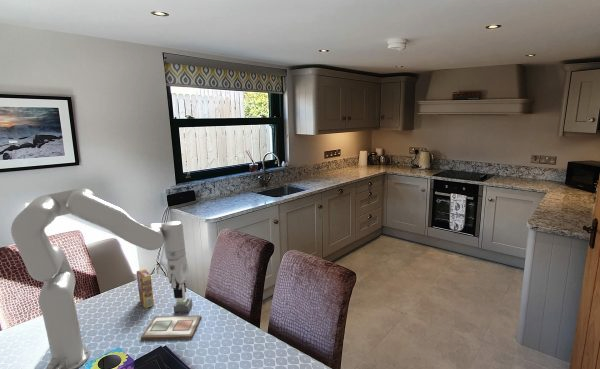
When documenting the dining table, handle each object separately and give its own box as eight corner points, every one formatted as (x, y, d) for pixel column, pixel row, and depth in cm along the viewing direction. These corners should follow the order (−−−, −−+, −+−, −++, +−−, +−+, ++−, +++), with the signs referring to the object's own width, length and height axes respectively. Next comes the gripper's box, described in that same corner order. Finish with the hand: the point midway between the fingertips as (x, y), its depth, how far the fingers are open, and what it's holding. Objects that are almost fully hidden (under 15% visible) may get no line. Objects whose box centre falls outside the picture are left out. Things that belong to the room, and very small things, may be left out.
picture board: (191, 338, 137) (191, 335, 136) (140, 340, 137) (140, 336, 136) (201, 317, 150) (201, 314, 150) (155, 318, 150) (154, 316, 150)
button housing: (188, 313, 154) (187, 305, 154) (174, 313, 154) (173, 306, 154) (192, 305, 160) (191, 298, 160) (178, 305, 160) (178, 298, 160)
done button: (186, 306, 155) (185, 301, 154) (177, 306, 155) (176, 301, 154) (188, 301, 159) (188, 296, 158) (180, 301, 159) (179, 297, 158)
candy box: (154, 305, 161) (151, 275, 158) (145, 308, 158) (141, 278, 155) (149, 297, 168) (145, 268, 165) (139, 300, 165) (135, 271, 162)
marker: (183, 301, 139) (181, 281, 137) (175, 302, 139) (172, 281, 137) (186, 297, 143) (184, 277, 141) (178, 297, 143) (175, 277, 141)
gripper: (177, 261, 128) (183, 306, 132) (191, 244, 145) (195, 284, 149) (157, 262, 128) (163, 306, 132) (173, 244, 145) (178, 285, 149)
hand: (180, 294), depth 140 cm, fingers closed on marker, 3 cm apart
